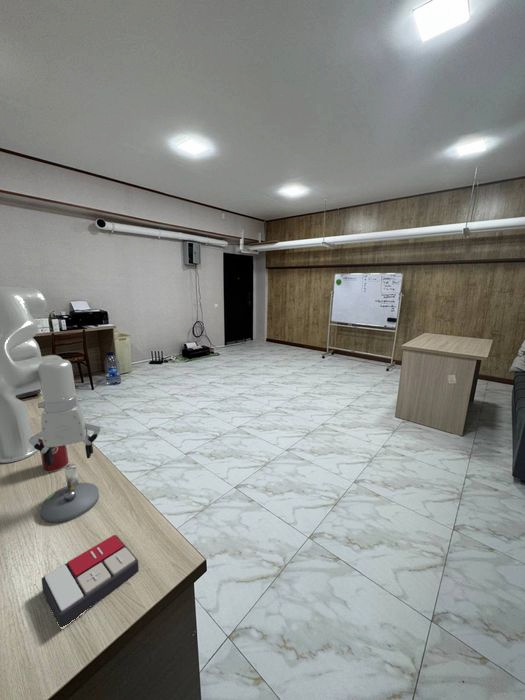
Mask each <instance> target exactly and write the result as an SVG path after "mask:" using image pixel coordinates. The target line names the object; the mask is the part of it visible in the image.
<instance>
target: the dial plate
mask: <svg viewBox="0 0 525 700" xmlns="http://www.w3.org/2000/svg"><path fill="white" fill-rule="evenodd" d="M67 490H70V488H68V487H67V485H66V486H63V487H61V488H59V489H57V490H55V491H53V492H51V494H49V495H48V496H47V497H46V498H44V500H43V501H42V503H41V504H40V507H39V513H40V517H41V519H42V520H43V521H44V522H46V523H50V524H60V523H61V524H62V523H65V522H68V521H72V520H74V519H76V518H79V517H80V516H82V515H85V514H86V513H87V512H90V511H91V509H92V508H94V506H95V505H96V504H97V503H98V501H99V498H100V493H99V491H100V490H99V488H98V486H97V485H96V484H94V483H91V482H79V484H78V485H77V486H76V487H75V492H76V497H75V498H74V499H73V500H70V501H65V500H64V493H65V492H66V491H67Z"/></svg>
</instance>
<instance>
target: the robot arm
mask: <svg viewBox="0 0 525 700" xmlns="http://www.w3.org/2000/svg"><path fill="white" fill-rule="evenodd" d="M47 308H48V303H47V299H46V297H45V296H44V294H43V293H42V292H41V291H40V290H38V289H37V288H34V287H27V286H0V463H2V464H5V463H6V464H7V463H8V464H9V463H13V462H18V461H21V460H24V459H26V458H29V457H30V456H32V455H34V454H36V453H37V452H38V451H39V452H40V451H41V453H42V454H43V455H44V460H45V462H47V466H50V465H51V464H52V462H53V454H52V449H51V448H50V447H57V446H63V445H66V446H69V445H73V444H78V443H82V442H83V443H84V444H85V446H84V447H85V453H86V454H85V455H86V458H87V459H90V458H91V455H92V454H93V453H94V447H93V446H94V445H93V443H94V441H96V439H97V438H98V436H99V434H100V431H101V428H102V427H101V426H100V425H94V424H92V423H87V422H86V417H85V414H84V411H83V409H82V406H81V405H80V403H79V404H78V397H77V392H76V387H75V386H76V385H75V378H74V372H73V366H72V363H71V362H70V360H68V359H63V358H62V357H61V356H59V355H56V354H51V355H45V356H42V353H41V349H40V346H39V343H38V342H37V341H36V339H34V337H35V336H36V335H37V334H38V332H39V326H38V323H36V320H35V319H34V318H33V315H40V314H44V313H45V312H46V311H47ZM40 389H41V394H42V400H43V401H41V402H38V403H37V407H38V409H39V408H42V409H43V411H42V412H41V419H40V422H41V424H40V425H41V431H40V432H38V433H36V434H35V435H33V434H34V433H33V432H32V429H31V423H30V418H29V412H28V406H27V404H26V403H25V402H24V401H23V400H21V399H19V398H17V396H19V395H23V394H26V393H30V392H34V391H38V390H40ZM88 431H92V432H93V434H91V435H90V434H88ZM41 437H42V440H43V444H42V443H40V442H38V439H40V438H41Z"/></svg>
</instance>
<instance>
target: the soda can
mask: <svg viewBox="0 0 525 700" xmlns="http://www.w3.org/2000/svg"><path fill="white" fill-rule="evenodd" d="M38 442H40V443H42V444H43V440H42V437H41V438H40V439H38ZM50 448H51V449H52V454H53V462H52V464H51V465H50V466H47V462H45V460H44V455H43V454H42V453H41V451H39V454H40V459H41V465H42V469H43V471H44V472H47V473H55V472H56V471H61V470H62V469H64V468H65V466H67V465H69V455H68V449H67V445H63V446H57V447H50Z"/></svg>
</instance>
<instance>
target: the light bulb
mask: <svg viewBox="0 0 525 700" xmlns="http://www.w3.org/2000/svg"><path fill="white" fill-rule="evenodd" d="M63 469H64V474H65V482H66V486H67V487H68V488H70V490H67V491H66V492H65V493H64V500H65V501H70V500H73V499H74V498H75V497H76V492H75V487H76V486H77V485H78V484H79V483H80V480H79V474H78V473H79V472H78V466H77V463H68V464H67V465H66V466H65V467H64V468H63Z"/></svg>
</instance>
